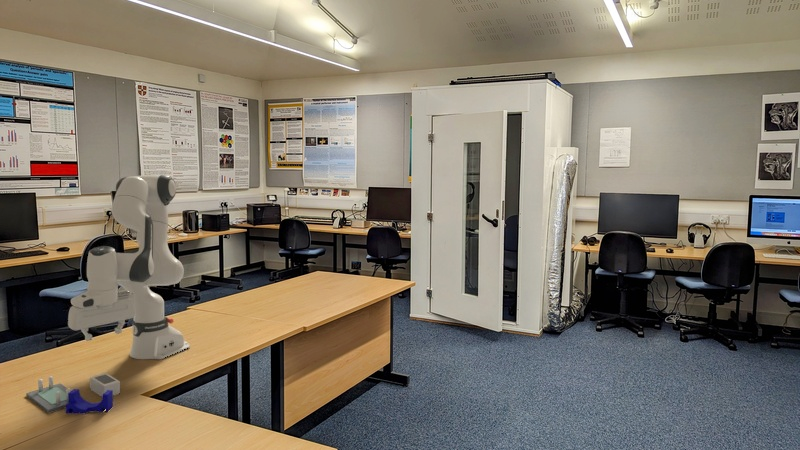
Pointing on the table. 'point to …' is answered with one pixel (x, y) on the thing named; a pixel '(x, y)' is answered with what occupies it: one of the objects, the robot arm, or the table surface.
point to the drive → (104, 384)
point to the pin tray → (50, 396)
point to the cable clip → (88, 403)
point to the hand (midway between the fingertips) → (103, 336)
